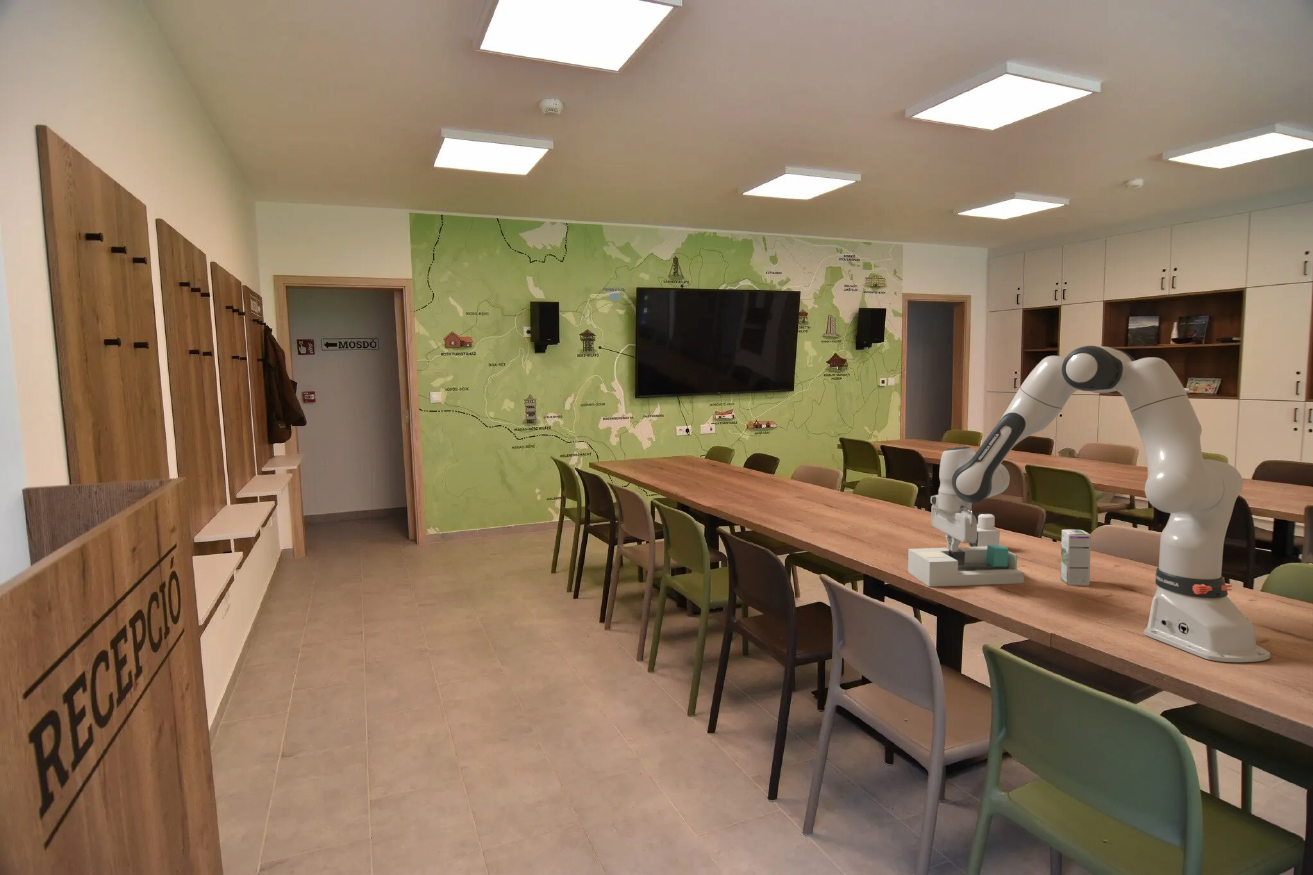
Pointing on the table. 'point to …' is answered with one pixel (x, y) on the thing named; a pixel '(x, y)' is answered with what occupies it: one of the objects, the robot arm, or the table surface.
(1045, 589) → the table surface
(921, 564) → the pocket board
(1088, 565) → the syrup box
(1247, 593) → the table surface
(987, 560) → the teal block
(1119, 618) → the table surface
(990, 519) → the medicine bottle
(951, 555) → the ejector lever
